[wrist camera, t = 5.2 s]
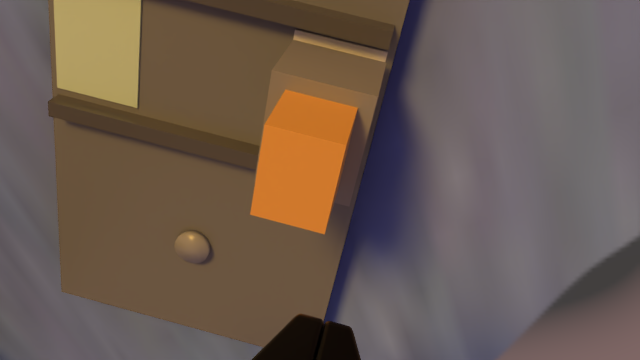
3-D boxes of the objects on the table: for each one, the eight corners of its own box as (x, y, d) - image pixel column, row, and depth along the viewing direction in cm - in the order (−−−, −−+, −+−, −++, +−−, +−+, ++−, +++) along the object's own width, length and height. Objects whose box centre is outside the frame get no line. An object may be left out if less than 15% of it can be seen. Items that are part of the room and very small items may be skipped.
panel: (317, 341, 24) (309, 372, 23) (75, 275, 24) (53, 302, 23) (486, -292, 13) (491, -305, 12) (55, -385, 14) (13, -406, 13)
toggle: (360, 163, 18) (337, 251, 14) (275, 141, 18) (231, 223, 15) (386, 62, 16) (369, 133, 13) (293, 39, 17) (248, 102, 13)
